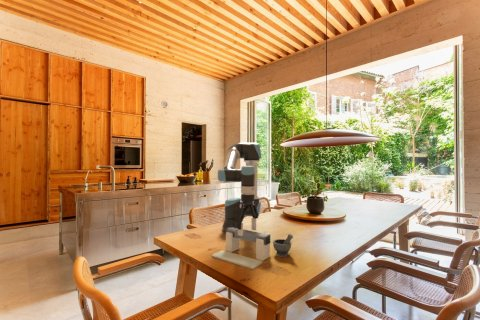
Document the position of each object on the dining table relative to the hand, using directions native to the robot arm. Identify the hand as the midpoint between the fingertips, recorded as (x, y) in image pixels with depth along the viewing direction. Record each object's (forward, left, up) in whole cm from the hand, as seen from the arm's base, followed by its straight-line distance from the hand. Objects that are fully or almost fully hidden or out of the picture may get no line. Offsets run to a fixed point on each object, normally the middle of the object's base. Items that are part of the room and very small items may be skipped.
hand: (247, 232), depth 133 cm
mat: (0, -10, -12) cm, 15 cm away
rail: (0, 0, -4) cm, 4 cm away
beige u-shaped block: (+10, 0, -12) cm, 15 cm away
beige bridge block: (-10, 0, -12) cm, 15 cm away
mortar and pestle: (+17, +10, -12) cm, 23 cm away
